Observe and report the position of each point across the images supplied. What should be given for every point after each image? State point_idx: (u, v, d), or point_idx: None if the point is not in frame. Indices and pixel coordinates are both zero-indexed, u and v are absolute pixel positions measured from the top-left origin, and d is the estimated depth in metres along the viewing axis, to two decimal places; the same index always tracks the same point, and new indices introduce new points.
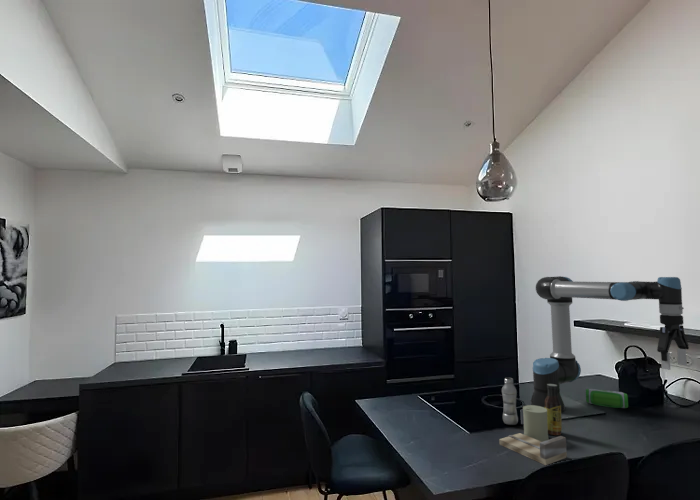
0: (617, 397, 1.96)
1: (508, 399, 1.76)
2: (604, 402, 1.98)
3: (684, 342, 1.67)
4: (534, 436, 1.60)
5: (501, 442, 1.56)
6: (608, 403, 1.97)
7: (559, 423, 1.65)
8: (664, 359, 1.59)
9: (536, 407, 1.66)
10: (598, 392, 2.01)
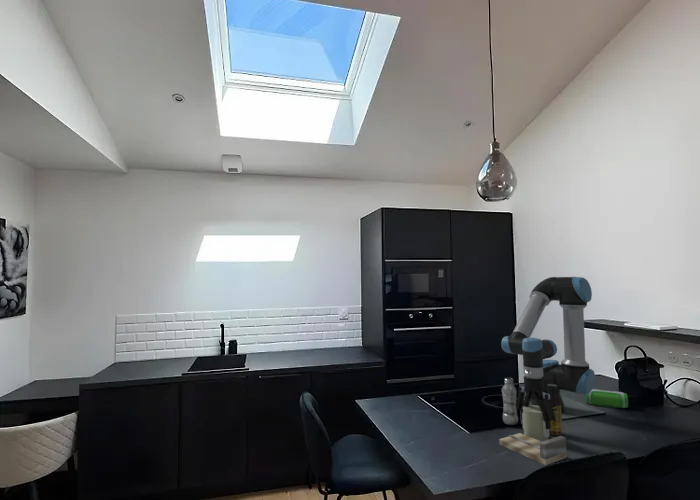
0: (617, 397, 1.96)
1: (508, 399, 1.76)
2: (604, 402, 1.98)
3: (548, 413, 1.58)
4: (534, 436, 1.60)
5: (501, 442, 1.56)
6: (608, 403, 1.97)
7: (559, 423, 1.65)
8: None
9: (536, 407, 1.66)
10: (598, 392, 2.00)
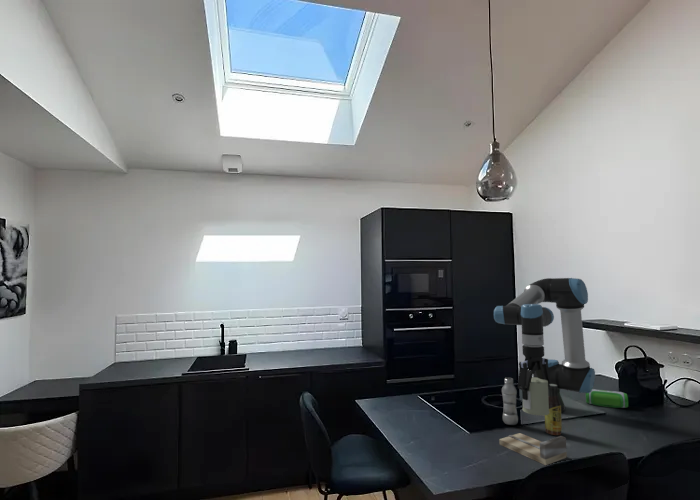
0: (617, 397, 1.96)
1: (508, 399, 1.76)
2: (604, 402, 1.98)
3: (547, 378, 1.53)
4: (548, 407, 1.48)
5: (501, 442, 1.56)
6: (608, 403, 1.97)
7: (559, 423, 1.65)
8: (524, 398, 1.47)
9: None
10: (598, 392, 2.00)
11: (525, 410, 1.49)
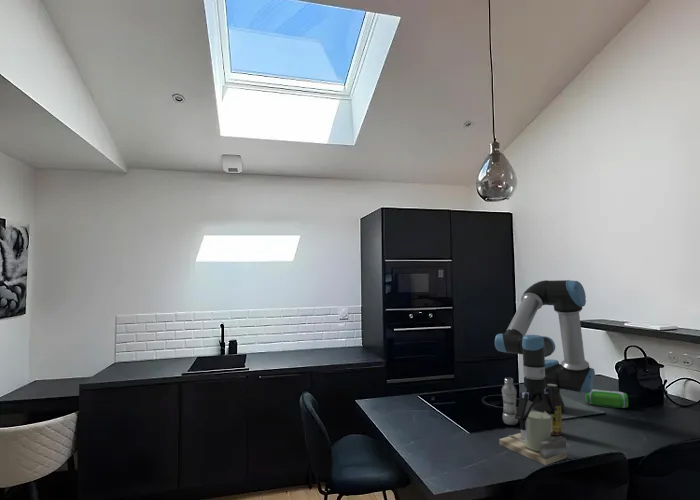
0: (618, 397, 1.96)
1: (508, 399, 1.76)
2: (605, 402, 1.98)
3: (551, 406, 1.54)
4: None
5: (501, 442, 1.56)
6: (608, 403, 1.97)
7: (559, 423, 1.65)
8: (522, 428, 1.46)
9: (530, 413, 1.52)
10: (598, 392, 2.00)
11: (527, 445, 1.48)
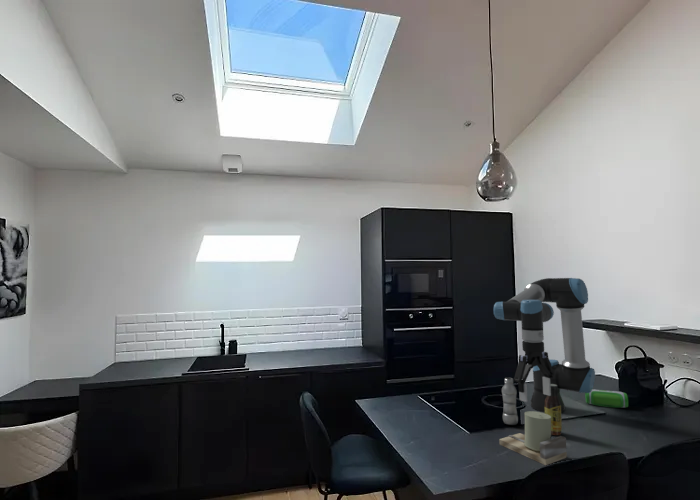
0: (618, 396, 1.96)
1: (508, 399, 1.76)
2: (605, 402, 1.98)
3: (549, 370, 1.54)
4: None
5: (501, 442, 1.56)
6: (608, 403, 1.97)
7: (559, 423, 1.65)
8: (521, 390, 1.46)
9: (531, 413, 1.52)
10: (598, 392, 2.00)
11: (527, 445, 1.48)
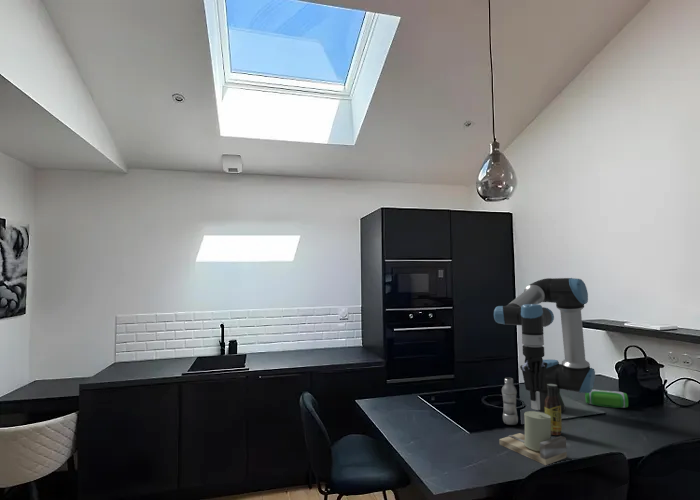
0: (618, 397, 1.96)
1: (508, 399, 1.76)
2: (605, 402, 1.98)
3: (541, 381, 1.52)
4: None
5: (501, 442, 1.56)
6: (609, 403, 1.97)
7: (559, 423, 1.65)
8: (532, 399, 1.49)
9: (530, 413, 1.52)
10: (598, 392, 2.00)
11: (527, 445, 1.48)
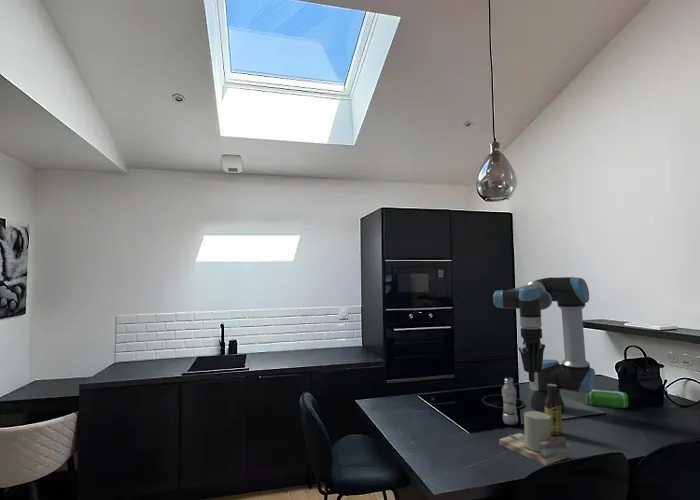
0: (618, 397, 1.96)
1: (508, 399, 1.76)
2: (605, 402, 1.98)
3: (539, 363, 1.54)
4: None
5: (501, 442, 1.56)
6: (609, 403, 1.97)
7: (559, 423, 1.65)
8: (531, 380, 1.52)
9: (530, 413, 1.52)
10: (598, 392, 2.00)
11: (527, 445, 1.48)
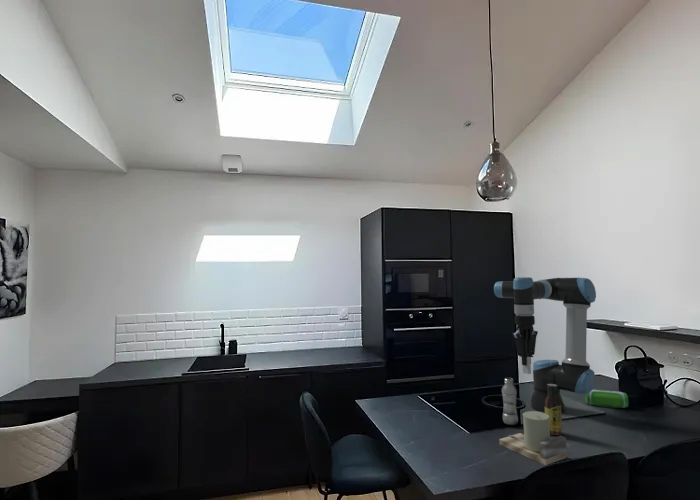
0: (618, 397, 1.96)
1: (508, 399, 1.76)
2: (605, 402, 1.98)
3: (531, 348, 1.64)
4: None
5: (501, 442, 1.56)
6: (609, 403, 1.97)
7: (559, 423, 1.65)
8: (524, 363, 1.62)
9: (529, 414, 1.51)
10: (598, 393, 2.00)
11: (527, 446, 1.48)
